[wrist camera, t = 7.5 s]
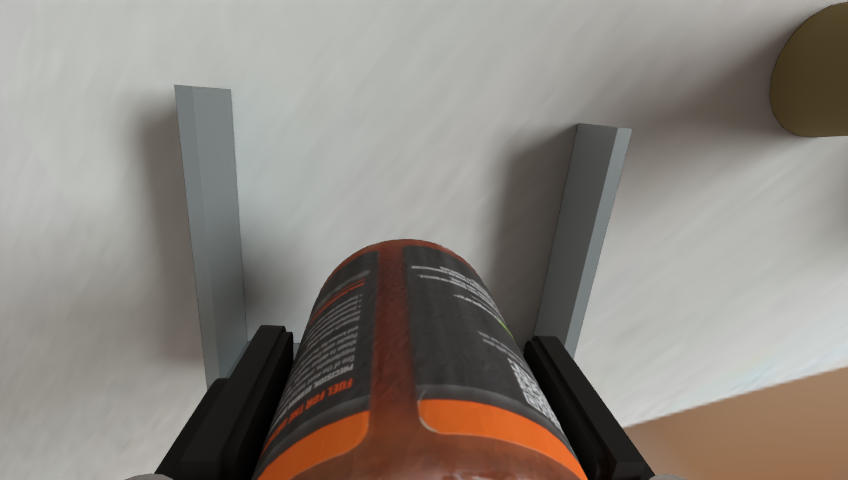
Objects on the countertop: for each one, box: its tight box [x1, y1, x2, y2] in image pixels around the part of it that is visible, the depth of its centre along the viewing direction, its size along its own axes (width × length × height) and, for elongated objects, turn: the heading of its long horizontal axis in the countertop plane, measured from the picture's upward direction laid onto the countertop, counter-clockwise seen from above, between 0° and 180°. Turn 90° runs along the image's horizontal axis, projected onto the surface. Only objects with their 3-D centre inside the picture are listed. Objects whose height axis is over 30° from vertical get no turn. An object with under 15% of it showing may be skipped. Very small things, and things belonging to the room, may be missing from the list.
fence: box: [174, 85, 632, 391], centre depth 18 cm, size 14×17×4 cm
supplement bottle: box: [251, 239, 588, 480], centre depth 8 cm, size 6×6×11 cm
